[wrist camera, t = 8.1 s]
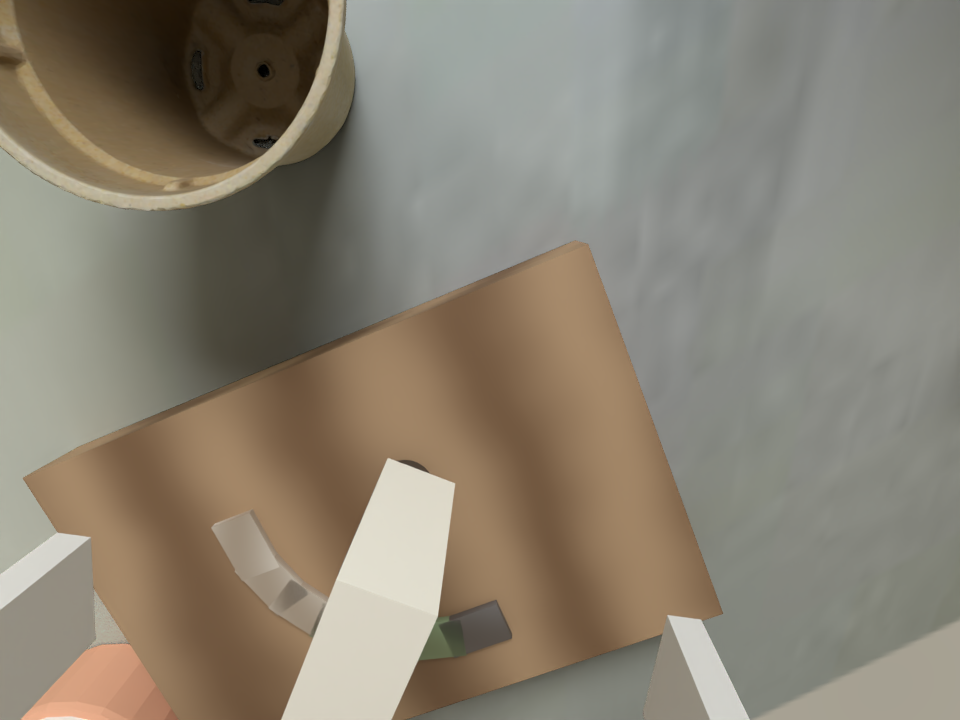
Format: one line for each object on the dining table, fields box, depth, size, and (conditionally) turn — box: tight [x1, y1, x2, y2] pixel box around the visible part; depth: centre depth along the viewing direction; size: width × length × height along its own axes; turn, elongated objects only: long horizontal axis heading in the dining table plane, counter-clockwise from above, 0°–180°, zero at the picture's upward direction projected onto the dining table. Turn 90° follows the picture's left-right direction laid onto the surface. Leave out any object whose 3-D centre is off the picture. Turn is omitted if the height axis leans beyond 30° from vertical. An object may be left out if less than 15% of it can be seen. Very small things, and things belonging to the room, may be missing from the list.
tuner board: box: [23, 241, 723, 720], centre depth 23 cm, size 22×15×3 cm
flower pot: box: [0, 0, 355, 211], centre depth 17 cm, size 9×9×9 cm
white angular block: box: [281, 458, 455, 720], centre depth 16 cm, size 11×2×11 cm, turn 158°
